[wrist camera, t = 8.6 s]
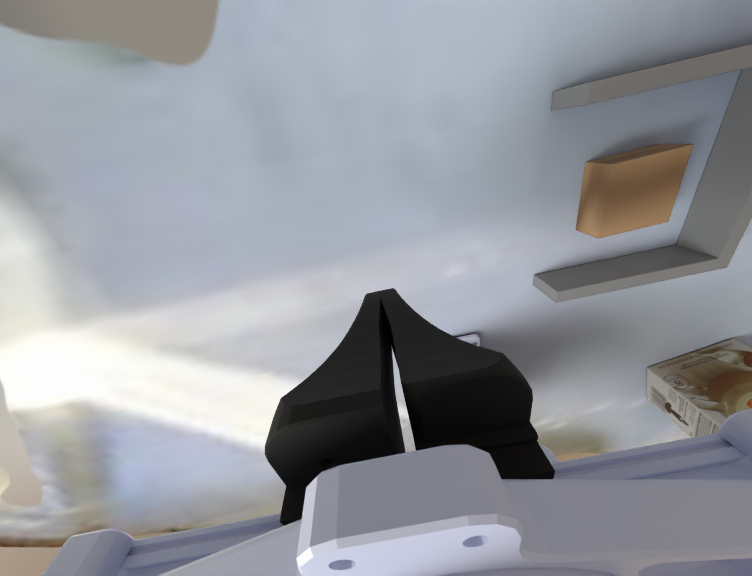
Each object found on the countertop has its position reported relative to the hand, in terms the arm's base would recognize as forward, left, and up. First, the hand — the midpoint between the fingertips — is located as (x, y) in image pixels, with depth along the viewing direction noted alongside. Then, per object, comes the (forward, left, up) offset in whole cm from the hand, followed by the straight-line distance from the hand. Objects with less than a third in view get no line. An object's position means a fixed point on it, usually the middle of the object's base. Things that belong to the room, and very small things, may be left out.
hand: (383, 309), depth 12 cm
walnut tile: (0, -19, -10) cm, 21 cm away
